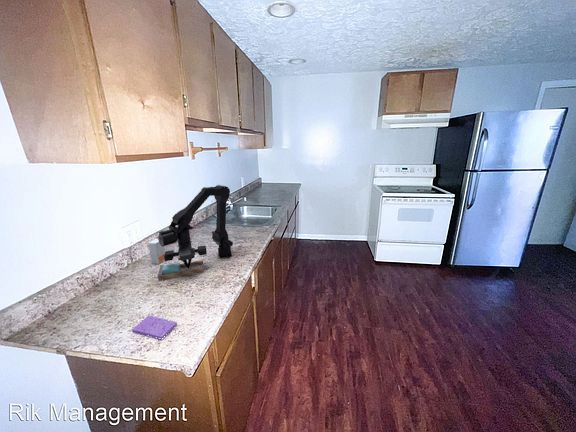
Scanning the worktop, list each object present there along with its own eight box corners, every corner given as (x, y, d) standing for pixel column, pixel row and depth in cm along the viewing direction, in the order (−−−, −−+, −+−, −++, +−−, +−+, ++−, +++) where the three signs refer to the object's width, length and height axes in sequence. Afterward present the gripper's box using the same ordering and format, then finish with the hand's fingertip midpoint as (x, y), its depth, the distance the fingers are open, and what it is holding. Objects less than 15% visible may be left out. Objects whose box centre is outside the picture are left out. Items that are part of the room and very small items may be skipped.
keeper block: (180, 269, 117) (179, 262, 115) (179, 275, 112) (178, 267, 111) (165, 272, 115) (163, 265, 113) (163, 277, 110) (162, 270, 109)
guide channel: (203, 263, 122) (202, 258, 121) (204, 272, 114) (203, 266, 113) (161, 270, 115) (160, 265, 115) (158, 280, 107) (157, 275, 106)
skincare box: (158, 264, 122) (154, 243, 118) (151, 263, 122) (147, 242, 119) (166, 259, 127) (163, 239, 124) (160, 258, 128) (156, 238, 124)
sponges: (162, 341, 75) (161, 336, 74) (132, 333, 78) (131, 328, 78) (178, 325, 81) (177, 321, 81) (149, 318, 85) (148, 314, 84)
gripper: (160, 249, 100) (166, 280, 105) (205, 242, 107) (209, 272, 111) (163, 240, 110) (168, 269, 115) (204, 234, 117) (207, 262, 121)
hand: (188, 268), depth 115 cm, fingers closed
